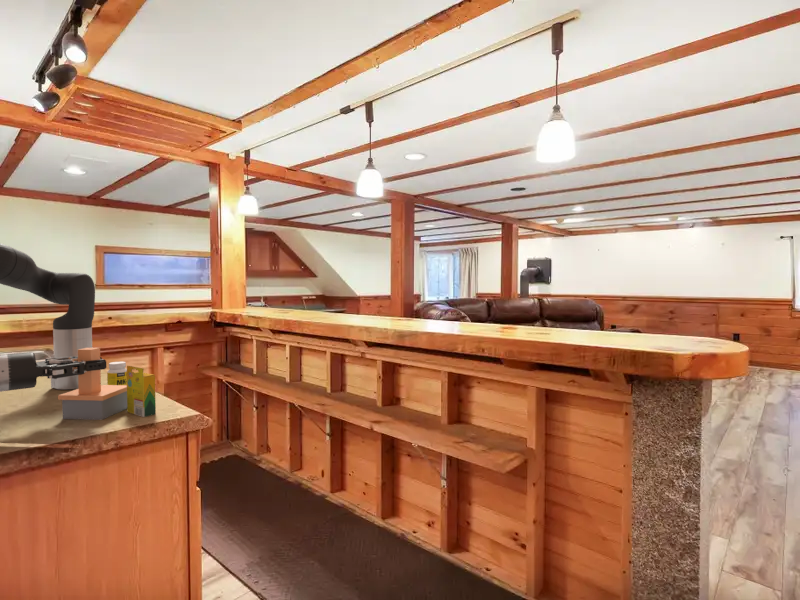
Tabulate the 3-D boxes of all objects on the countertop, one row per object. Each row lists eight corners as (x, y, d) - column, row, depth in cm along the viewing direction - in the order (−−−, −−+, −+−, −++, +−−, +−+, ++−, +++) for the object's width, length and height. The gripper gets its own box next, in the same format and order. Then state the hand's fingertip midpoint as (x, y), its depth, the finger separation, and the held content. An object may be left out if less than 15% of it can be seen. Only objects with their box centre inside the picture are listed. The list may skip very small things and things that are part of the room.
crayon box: (156, 416, 105) (155, 366, 105) (143, 419, 103) (142, 368, 102) (139, 411, 109) (138, 363, 108) (126, 414, 107) (125, 365, 106)
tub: (62, 421, 101) (62, 399, 101) (91, 409, 110) (91, 389, 110) (102, 422, 100) (101, 399, 100) (127, 410, 109) (127, 390, 109)
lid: (58, 399, 100) (57, 350, 100) (90, 388, 110) (89, 343, 110) (102, 400, 100) (101, 351, 99) (130, 389, 110) (130, 344, 109)
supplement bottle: (117, 395, 124) (117, 364, 123) (103, 394, 124) (102, 363, 124) (131, 390, 128) (131, 361, 128) (117, 389, 129) (116, 360, 129)
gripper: (7, 359, 87) (110, 350, 99) (3, 350, 98) (97, 342, 109) (8, 397, 88) (111, 383, 99) (4, 384, 98) (98, 373, 110)
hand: (103, 362), depth 104 cm, fingers closed on lid, 4 cm apart
